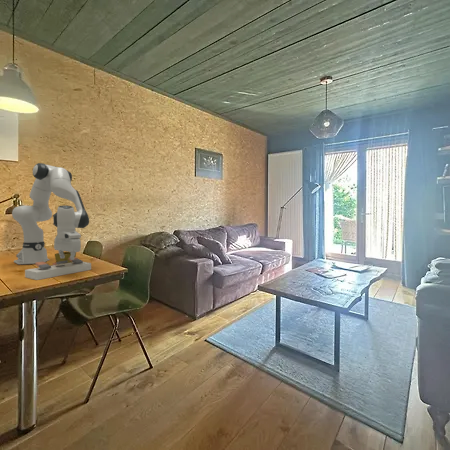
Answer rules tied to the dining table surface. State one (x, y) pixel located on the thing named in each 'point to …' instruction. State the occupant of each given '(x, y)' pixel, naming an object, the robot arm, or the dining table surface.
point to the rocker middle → (60, 262)
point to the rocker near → (42, 265)
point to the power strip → (56, 270)
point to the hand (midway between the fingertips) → (67, 259)
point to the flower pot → (67, 256)
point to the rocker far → (76, 260)
